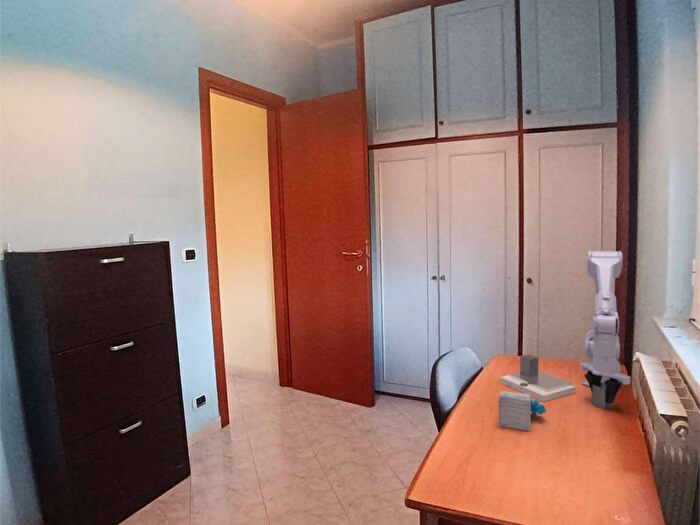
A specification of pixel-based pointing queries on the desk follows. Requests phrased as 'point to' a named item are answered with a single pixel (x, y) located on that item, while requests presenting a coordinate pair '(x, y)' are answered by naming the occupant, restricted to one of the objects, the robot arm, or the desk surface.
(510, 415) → the medicine box
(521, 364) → the block
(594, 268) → the robot arm
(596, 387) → the block
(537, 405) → the gear
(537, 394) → the kitchen scale
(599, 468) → the desk surface
